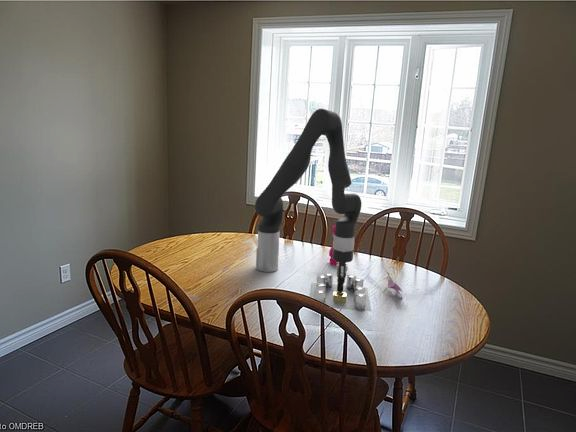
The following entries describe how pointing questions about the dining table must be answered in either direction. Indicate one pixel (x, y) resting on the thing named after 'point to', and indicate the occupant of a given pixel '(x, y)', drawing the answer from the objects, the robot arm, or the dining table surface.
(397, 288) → the lily
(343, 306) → the board
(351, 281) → the spacers
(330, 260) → the pepper mill
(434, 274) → the dining table surface
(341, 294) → the nut
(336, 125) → the robot arm
